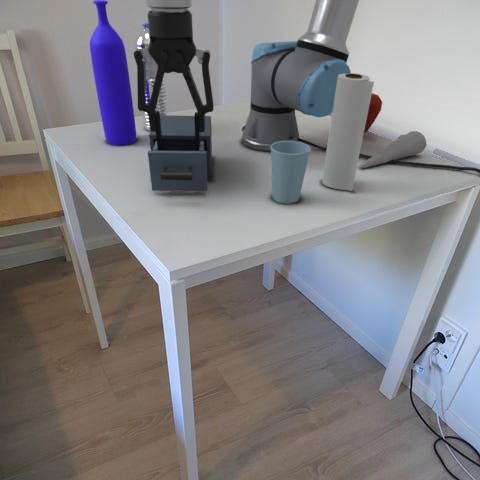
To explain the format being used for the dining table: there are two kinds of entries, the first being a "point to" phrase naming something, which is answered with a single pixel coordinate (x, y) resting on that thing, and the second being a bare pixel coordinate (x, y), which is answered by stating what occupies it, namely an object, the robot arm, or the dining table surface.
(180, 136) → the cabinet
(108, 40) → the bottle
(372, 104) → the apple
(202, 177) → the drawer
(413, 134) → the long tapered cone
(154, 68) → the water bottle
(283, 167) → the cup
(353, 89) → the paper towel roll
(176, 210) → the dining table surface
